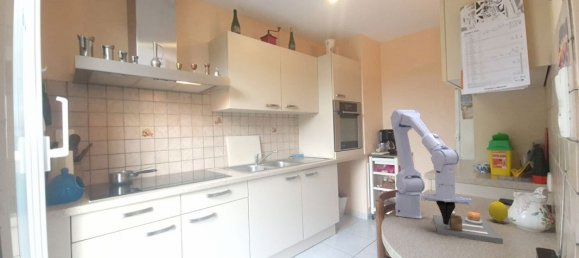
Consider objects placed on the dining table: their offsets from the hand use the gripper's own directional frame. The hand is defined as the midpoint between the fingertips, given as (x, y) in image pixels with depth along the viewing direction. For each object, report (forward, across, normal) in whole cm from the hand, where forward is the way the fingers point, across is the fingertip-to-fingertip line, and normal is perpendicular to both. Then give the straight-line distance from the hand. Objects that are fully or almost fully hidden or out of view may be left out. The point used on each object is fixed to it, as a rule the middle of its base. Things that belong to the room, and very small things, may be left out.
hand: (445, 223), depth 83 cm
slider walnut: (+1, +3, 0) cm, 3 cm away
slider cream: (+1, +2, +6) cm, 6 cm away
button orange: (0, +10, +10) cm, 14 cm away
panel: (+3, +6, +5) cm, 8 cm away
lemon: (+3, +19, +19) cm, 27 cm away
